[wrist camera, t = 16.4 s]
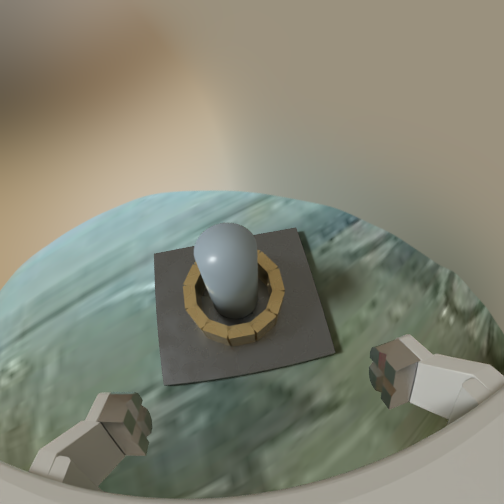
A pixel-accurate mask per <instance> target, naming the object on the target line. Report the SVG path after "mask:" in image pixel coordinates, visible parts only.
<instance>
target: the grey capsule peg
mask: <svg viewBox="0 0 504 504" xmlns="http://www.w3.org/2000/svg"><path fill="white" fill-rule="evenodd" d="M194 257H195V260H196V263H197V266H198V268H199V271H200V273H201V276H202V278H203V281H204V283H205V285H206V288H207V290H208V293H209V295H210V298H211V300H212V302H213V305H214V307H215V309H216V310H217V311H218V312H219V313H220V314H221V315H223V316H224V317H227V318H231V319H238V318H243V317H245V316H247V315H249V314H250V313H251V312H252V311H253V310H254V309H255V307H256V305H257V302H258V261H257V242H256V239H255V237H254V236H253V234H252V233H251V232H250V231H249V230H248V229H247V228H245V227H243V226H241V225H238V224H234V223H220V224H216V225H214V226H211V227H209V228H208V229H206V230H205V231H204V232H203V233H202V234H201V235H200V236H199V237H198V239H197V241H196V243H195V246H194Z"/></svg>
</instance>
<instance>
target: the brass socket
mask: <svg viewBox="0 0 504 504" xmlns="http://www.w3.org/2000/svg"><path fill="white" fill-rule="evenodd" d="M257 261H258V278H259V279H260V280H261V281H262V282H263V283H264V284H265V285H266V286H267V288H268V292H269V296H270V299H269V302H268V304H267V307H266V309H265V310H264V311H263V312H262V313H260V314H259V315H258V316H257V317H256V318H254V319H253V320H252V321H251V322H248V323H243V324H238V325H232V326H227V325H224V324H221V323H218V322H215V321H212V320H210V319H208V317H207V316H206V315H205V314H204V313H203V309H202V301H201V298H202V296H203V294H204V291H205V289H206V285H205V283H204V281H203V278H202V276H201V273H200V271H199V268H198V266H197V263H196V262H194V264H195V265H194V264H193V265H192V267H191V269H190V271H189V273H188V275H187V277H186V279H185V281H184V283H183V285H184V286H183V293H184V303H185V309H186V311H187V313H188V314H189V315H190V317H191V318H192V319H193V321H194V322H195V323H196V324H197V326H198V327H199V328H200V329H201V331H202V332H203V333H204V334H205V335H206V337H208V338H209V339H211V340H214V341H217V342H219V343H222V344H225V345H228V346H231V344H232V346H238V345H243V344H248V343H254V342H255V339H256V340H257V341H258V340H259V339H261V338H262V337H263V336H264V335H265V334H266V333H268V332H269V331H270V330H271V329H272V328H273V327H275V325H276V323H277V319H278V316H279V313H280V310H281V307H282V304H283V299H284V293H285V289H284V285H283V281H282V277H281V274H280V270H279V268H278V266H277V265H276V264H275V263H274V262H273V261H272V260H271V259H269V258H268V257H267V256H266V255H265V254H264V253H263V252H260V250H257Z"/></svg>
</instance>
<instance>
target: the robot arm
mask: <svg viewBox="0 0 504 504" xmlns="http://www.w3.org/2000/svg"><path fill="white" fill-rule="evenodd" d="M370 358H371V359H372V361H373V362H372V364H371V365H370V367H369V377H370V381H371V384H372V386H373V387H374V389H375V390H376V391H379V392H382V393H381V399H382V400H383V402H384V403H385V405H386V406H387V407H388V409H392V408H394V407H397V406H399V405H402V404H404V403H406V402H409V401H410V403H413V404H415V405H417V406H419V407H421V408H424V409H426V410H428V411H430V412H433V413H435V414H437V415H440V416H442V417H444V418H447V419H449V420H448V423H447V425H446V427H444V428H443V429H441V430H439V431H438V432H436V433H434V434H432V435H430V436H429V437H427V438H425V439H423V440H421V441H419V442H417V443H415V444H413V445H411V446H409V447H407V448H405V449H403V450H401V451H399V452H397V453H395V454H392V455H390V456H388V457H385V458H383V459H381V460H378V461H376V462H373V463H371V464H368V465H366V466H363V467H360V468H358V469H355V470H352V471H349V472H346V473H343V474H340V475H337V476H333V477H330V478H327V479H323V480H320V481H316V482H312V483H308V484H304V485H300V486H296V487H291V488H286V489H281V490H276V491H270V492H264V493H258V494H251V495H243V496H233V497H221V498H203V499H167V498H149V497H137V496H128V495H120V494H113V493H107V492H103V491H102V490H101V489H100V488H99V487H98V485H99V484H100V483H101V482H102V481H103V480H104V479H105V478H106V477H107V476H108V475H109V474H110V473H111V471H112V470H113V469H114V468H115V467H116V466H117V465H118V464H119V463H120V462H121V460H122V459H123V458H124V457H125V455H134V456H146V454H147V449H148V445H149V441H148V440H147V438H146V437H147V436H148V435H149V434H150V433H151V431H152V419H151V416H150V413H149V411H148V409H146V408H145V407H143V406H142V405H141V404H142V401H143V400H142V398H141V397H140V395H139V394H138V393H136V392H112V393H104V392H101V393H99V394H98V395H97V397H96V399H95V401H94V403H93V405H92V407H91V409H90V411H89V413H88V415H87V418H86V420H85V421H81V422H79V423H78V424H76V425H75V426H73V427H72V428H71V429H69V430H68V431H66V432H65V433H63V434H62V435H60V436H59V437H57V438H56V439H55V440H53V441H52V442H50V443H49V444H47V445H46V446H44V447H43V448H41V449H40V450H39V451H38V453H37V455H36V457H35V459H34V461H33V463H32V465H31V467H30V469H29V472H27V471H25V470H22V469H19V468H17V467H14V466H12V465H10V464H7V463H5V462H3V461H0V504H504V376H503V375H502V374H501V373H500V372H498V371H497V370H496V369H495V368H494V367H492V366H491V365H490V364H484V363H479V362H474V361H469V360H464V359H459V358H454V357H449V356H445V355H440V354H435V355H433V354H431V353H430V352H429V351H428V350H427V349H426V348H425V347H424V346H422V345H421V344H420V343H419V342H418V341H417V340H416V339H414V338H413V337H412V336H411V335H409V334H406V335H404V336H401V337H399V338H396V339H395V340H392V341H389V342H387V343H384V344H381V345H378V346H375V347H372V348H371V351H370Z"/></svg>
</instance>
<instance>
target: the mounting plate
mask: <svg viewBox="0 0 504 504" xmlns="http://www.w3.org/2000/svg"><path fill="white" fill-rule="evenodd" d="M253 236H254V237H255V239H256V242H257V250H260V252H263V253H264V254H265V255H266V256H267V257H268V258H269V259H271V260H272V261H273V262H274V263H275V264H276V265H277V266H278V268H279V270H280V274H281V277H282V281H283V285H284V289H285V293H284V299H283V304H282V307H281V310H280V313H279V316H278V319H277V323H276V325H275V327H273V328H272V329H271V330H270V331H269V332H268V333H266V334H265V335H264V336H263V337H262V338H261V339H259V340H258V341H257V340H256V339H255V342H254V343H248V344H243V345H238V346H232V344H231V346H228V345H225V344H222V343H219V342H217V341H214V340H211V339H209V338H208V337H206V335H205V334H204V333H203V332H202V331H201V329H200V328H199V327H198V326H197V324H196V323H195V322H194V321H193V319H192V318H191V317H190V315H189V314H188V313H187V311H186V309H185V303H184V293H183V286H184V285H183V283H184V281H185V279H186V277H187V275H188V273H189V271H190V269H191V267H192V265H193V264H194V262H196V260H195V257H194V246H192V247H187V248H182V249H176V250H171V251H166V252H161V253H156V254H154V270H155V295H156V312H157V325H158V337H159V348H160V357H161V366H162V374H163V382H164V385H165V386H171V385H181V384H189V383H197V382H205V381H212V380H219V379H225V378H231V377H237V376H243V375H248V374H253V373H258V372H263V371H268V370H273V369H278V368H282V367H287V366H291V365H295V364H299V363H303V362H307V361H311V360H315V359H319V358H322V357H326V356H330V355H333V354H334V353H335V350H334V346H333V343H332V339H331V336H330V332H329V329H328V325H327V322H326V319H325V315H324V312H323V309H322V305H321V302H320V299H319V296H318V292H317V289H316V286H315V283H314V280H313V277H312V274H311V270H310V267H309V264H308V261H307V258H306V255H305V252H304V249H303V246H302V243H301V240H300V237H299V235H298V232H297V229H296V228H291V229H285V230H280V231H274V232H268V233H263V234H257V235H253ZM194 265H195V264H194ZM269 299H270V296H269V292H268V288H267V286H266V285H265V284H264V283H263V282H262V281H261V280H260V279H259V278H258V302H257V305H256V307H255V309H254V310H253V311H252V312H251V313H250V314H249V315H247V316H245V317H243V318H238V319H231V318H227V317H224V316H223V315H221V314H220V313H219V312H218V311H217V310H216V309H215V307H214V305H213V302H212V300H211V298H210V295H209V293H208V290H207V288H206V289H205V291H204V294H203V296H202V298H201V301H202V309H203V313H204V314H205V315H206V316H207V317H208V319H210V320H212V321H215V322H218V323H221V324H224V325H227V326H232V325H238V324H243V323H248V322H251V321H252V320H253V319H254V318H256V317H257V316H258V315H259V314H260V313H262V312H263V311H264V310H265V309H266V307H267V304H268V302H269Z"/></svg>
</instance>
